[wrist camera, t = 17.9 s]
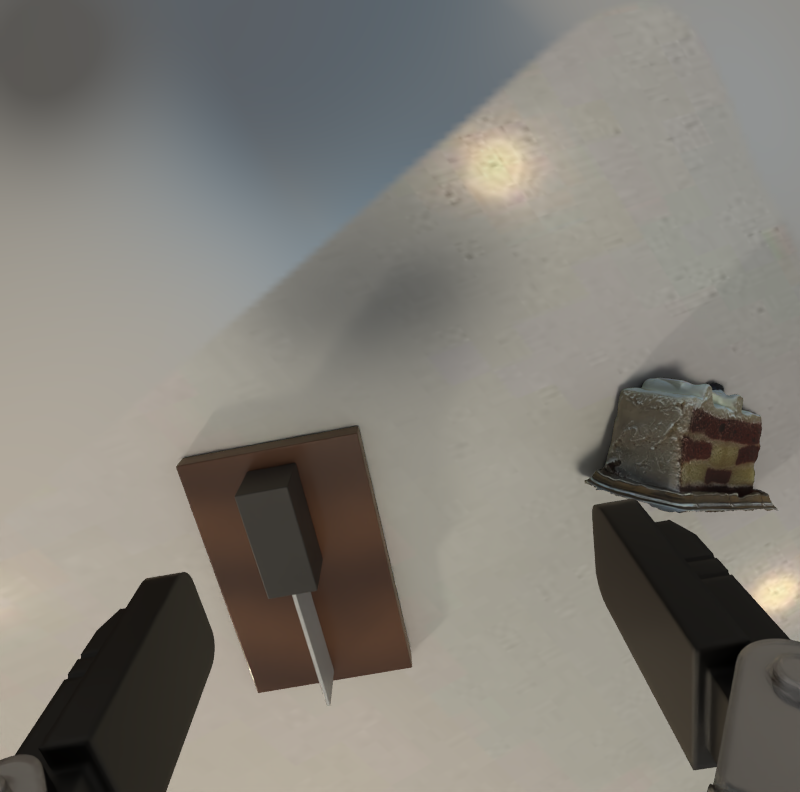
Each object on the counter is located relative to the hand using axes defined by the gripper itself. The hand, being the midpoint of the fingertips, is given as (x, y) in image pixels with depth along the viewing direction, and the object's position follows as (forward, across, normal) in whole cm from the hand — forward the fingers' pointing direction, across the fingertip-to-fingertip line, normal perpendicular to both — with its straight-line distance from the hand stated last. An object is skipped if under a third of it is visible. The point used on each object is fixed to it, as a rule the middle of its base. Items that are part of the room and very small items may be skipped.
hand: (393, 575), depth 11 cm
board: (+21, +8, +15) cm, 27 cm away
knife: (+20, +8, +15) cm, 26 cm away
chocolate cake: (+22, -17, +10) cm, 29 cm away
